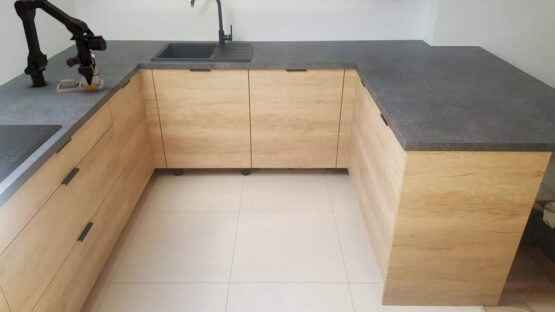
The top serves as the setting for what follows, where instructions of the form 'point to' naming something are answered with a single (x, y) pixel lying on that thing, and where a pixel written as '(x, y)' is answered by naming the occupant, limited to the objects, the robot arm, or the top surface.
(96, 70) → the supplement bottle
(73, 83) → the grey filler panel
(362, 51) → the top surface
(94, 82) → the white panel
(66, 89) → the rack
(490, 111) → the top surface
